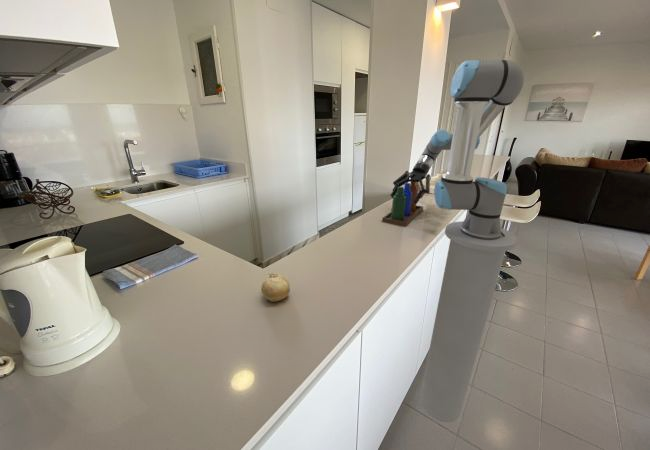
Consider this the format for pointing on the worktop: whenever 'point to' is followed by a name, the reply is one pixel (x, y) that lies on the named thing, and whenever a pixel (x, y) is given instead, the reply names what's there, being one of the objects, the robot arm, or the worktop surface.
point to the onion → (275, 288)
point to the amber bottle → (413, 195)
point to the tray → (406, 218)
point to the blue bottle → (407, 198)
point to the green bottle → (398, 205)
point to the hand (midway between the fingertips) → (403, 199)
